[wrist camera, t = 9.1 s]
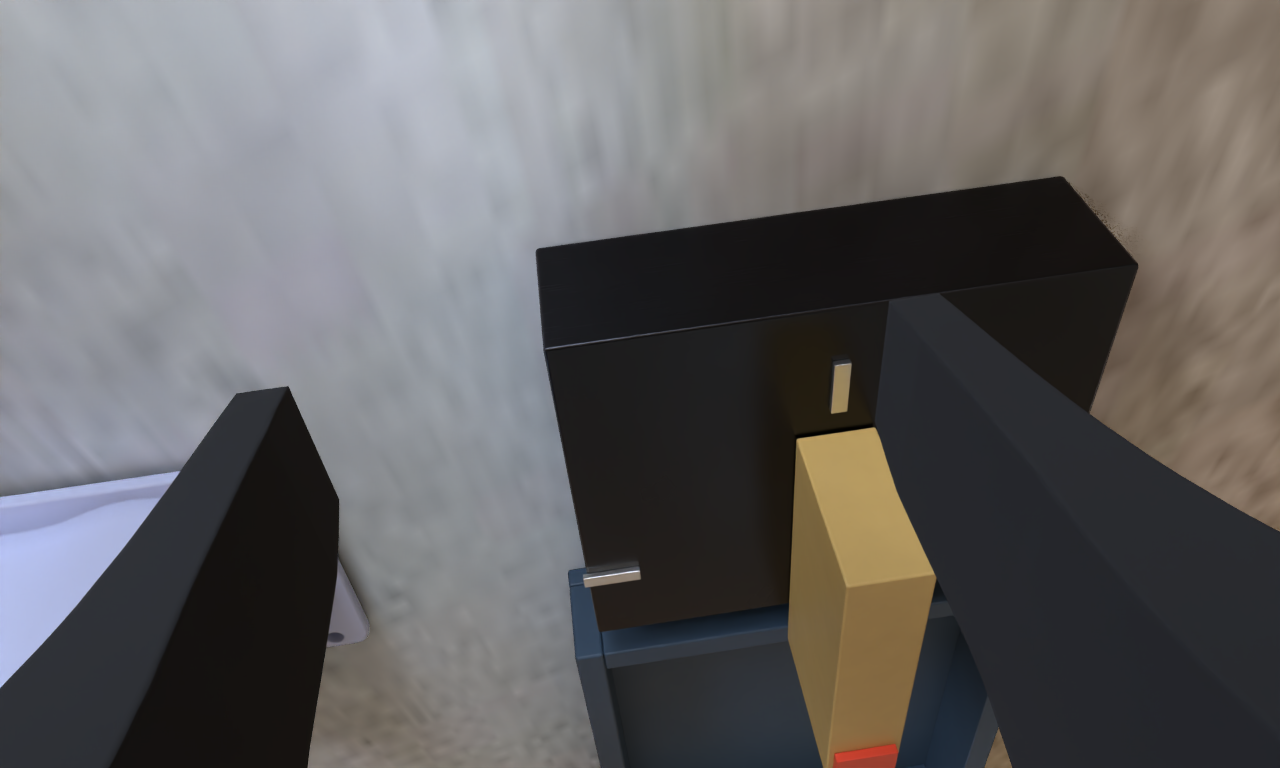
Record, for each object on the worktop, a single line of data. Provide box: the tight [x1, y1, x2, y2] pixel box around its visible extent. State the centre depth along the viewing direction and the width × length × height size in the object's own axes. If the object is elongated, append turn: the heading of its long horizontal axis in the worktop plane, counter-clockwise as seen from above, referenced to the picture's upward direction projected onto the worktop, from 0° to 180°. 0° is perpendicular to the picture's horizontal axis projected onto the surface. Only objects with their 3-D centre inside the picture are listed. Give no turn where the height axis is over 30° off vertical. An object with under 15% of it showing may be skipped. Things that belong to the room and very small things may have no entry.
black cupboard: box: [536, 176, 1138, 632], centre depth 25 cm, size 14×12×4 cm
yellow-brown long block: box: [788, 427, 936, 768], centre depth 23 cm, size 8×2×4 cm, turn 5°
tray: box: [568, 568, 998, 768], centre depth 34 cm, size 14×17×3 cm
